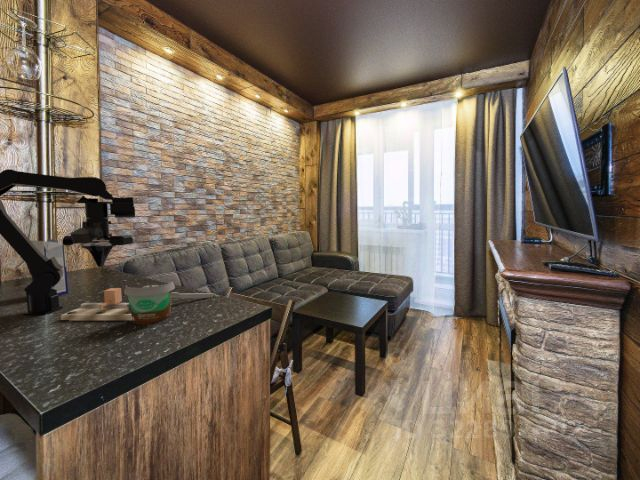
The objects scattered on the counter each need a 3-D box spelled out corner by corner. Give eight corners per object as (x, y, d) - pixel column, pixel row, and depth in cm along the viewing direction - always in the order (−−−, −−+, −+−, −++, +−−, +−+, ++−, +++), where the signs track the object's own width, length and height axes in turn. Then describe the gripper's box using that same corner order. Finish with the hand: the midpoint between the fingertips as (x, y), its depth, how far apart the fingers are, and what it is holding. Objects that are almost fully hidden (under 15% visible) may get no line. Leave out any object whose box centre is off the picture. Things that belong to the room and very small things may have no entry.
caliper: (155, 310, 91) (154, 290, 91) (154, 309, 92) (153, 289, 92) (217, 296, 106) (217, 279, 106) (216, 296, 107) (215, 278, 106)
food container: (123, 329, 76) (120, 290, 75) (125, 321, 82) (123, 285, 81) (176, 321, 82) (175, 285, 81) (176, 314, 87) (174, 280, 86)
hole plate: (61, 320, 82) (59, 297, 82) (91, 307, 93) (89, 287, 93) (131, 320, 82) (130, 297, 82) (153, 307, 93) (151, 287, 93)
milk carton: (33, 296, 105) (28, 239, 103) (55, 291, 111) (50, 238, 109) (47, 298, 103) (42, 240, 101) (68, 293, 109) (64, 238, 107)
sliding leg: (95, 311, 84) (93, 294, 83) (112, 303, 91) (111, 288, 90) (105, 311, 84) (104, 294, 83) (122, 303, 91) (121, 288, 90)
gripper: (44, 218, 87) (48, 271, 88) (109, 218, 87) (113, 271, 89) (75, 217, 98) (78, 265, 99) (132, 217, 98) (135, 265, 100)
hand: (100, 266), depth 96 cm, fingers closed
